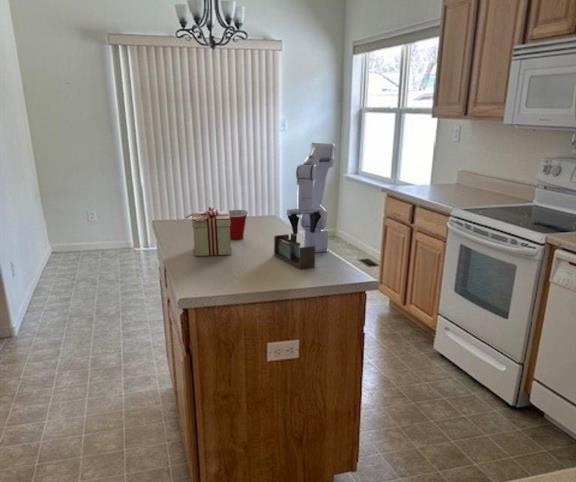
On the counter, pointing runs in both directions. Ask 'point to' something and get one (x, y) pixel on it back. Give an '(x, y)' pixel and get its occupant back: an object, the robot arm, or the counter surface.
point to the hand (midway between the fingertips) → (303, 233)
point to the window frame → (284, 252)
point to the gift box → (211, 232)
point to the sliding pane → (294, 246)
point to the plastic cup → (237, 223)
